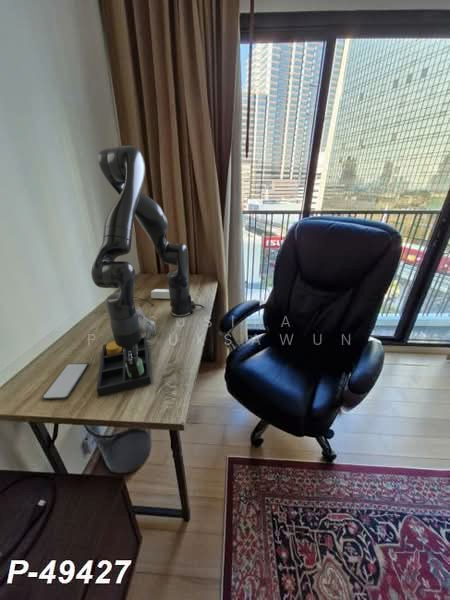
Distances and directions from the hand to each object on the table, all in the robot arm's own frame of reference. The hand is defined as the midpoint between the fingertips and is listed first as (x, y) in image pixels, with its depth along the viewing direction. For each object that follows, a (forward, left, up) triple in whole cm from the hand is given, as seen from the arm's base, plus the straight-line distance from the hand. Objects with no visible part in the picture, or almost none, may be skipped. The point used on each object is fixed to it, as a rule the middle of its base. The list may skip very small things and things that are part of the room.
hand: (135, 371), depth 81 cm
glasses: (+2, -50, -3) cm, 50 cm away
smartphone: (+22, -6, -3) cm, 23 cm away
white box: (-16, -58, -3) cm, 61 cm away
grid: (+4, -7, -3) cm, 9 cm away
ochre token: (+7, -15, -2) cm, 16 cm away
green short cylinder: (0, 0, 0) cm, 0 cm away
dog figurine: (-3, -26, -3) cm, 27 cm away
